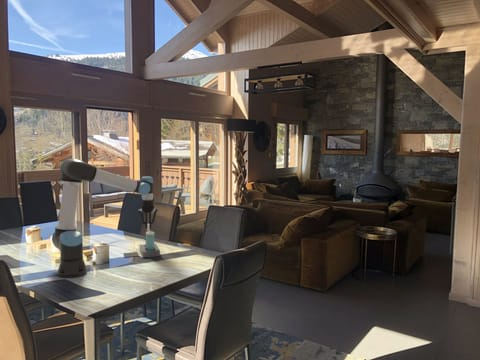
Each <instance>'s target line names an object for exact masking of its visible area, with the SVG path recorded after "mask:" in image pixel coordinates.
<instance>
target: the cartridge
mask: <svg viewBox="0 0 480 360" xmlns="http://www.w3.org/2000/svg"><path fill="white" fill-rule="evenodd" d="M145 237H146V251H150V250H154V244H155V232H154V231H152V230H151V229H150V230H149V232H147V231H146V232H145Z"/></svg>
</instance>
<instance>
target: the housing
mask: <svg viewBox="0 0 480 360" xmlns="http://www.w3.org/2000/svg"><path fill="white" fill-rule="evenodd" d="M139 253H140V255H141V257H142V258H143V259H145V258H153V257H161V250H160V248H159V246H158V245H157V243H154V250H150V251H146V247H145V243H144V244H139Z"/></svg>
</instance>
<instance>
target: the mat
mask: <svg viewBox="0 0 480 360" xmlns="http://www.w3.org/2000/svg"><path fill="white" fill-rule="evenodd" d="M122 255H123V257H124V259H125V258H136V257H139V256H140V255H139V253H138V251H133V252H124V253H123V254H122Z"/></svg>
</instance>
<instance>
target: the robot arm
mask: <svg viewBox="0 0 480 360" xmlns="http://www.w3.org/2000/svg"><path fill="white" fill-rule="evenodd" d="M59 172H60V174H61V175H60V182H61V183H62V191H61V198H60V199H61V202H60V207H59V208H60V209H59V217H58V224H57V225H56V226H55V229H54V232H53V233H52V237H51V241H52V242H51V243H52V244H53V246H54V247H55V248H56V249H57V250H59V251H60V253H59V254H60V263H59V266H58V269H57V277H59V278H63V279H72V278H78V277H82V276H83V275H85V274H86V273H87V272H88V270H87V266H86V263H85V260H84V250H83V249H84V247H83V246H84V245H83V243H84V238H83V234H82V233H81V232H80V231H77V230H78V227H77V226H76V225H75V223H76V216H77V215H76V214H77V204H78V196H79V188H80V185H82V183H83V182H89V183H93V182H96V183H99V184H102V185H107V186H109V187H110V186H111V187H113V188H114V187H115V188H118V189H120V190H124V192H125V193H136V194H138V195H139V194H140V195H141V199H142V200H141V208H140V209H138V213H139V215H140V218H141V222H142V224H143V225H144V228H145V230H146V232H149V230H151V229H152V224H154V223H155V219H156V214H157V212H158V209H157V208H155V206H154V177H152V176H149V175H148V176H142V177H141V179H138V180H136V179H133V178H130V177H126V176H123V175H120V174H116V173H113V172H110V171H107V170H103V169H100V168H98V166H95V165H93V164H90V163H88V162H86V161H83V160H80V159H76V158H68V159H66V160H63V162H62V163H61V165H60V166H59ZM143 212H144V215H143ZM152 212H153V214H152Z"/></svg>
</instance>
